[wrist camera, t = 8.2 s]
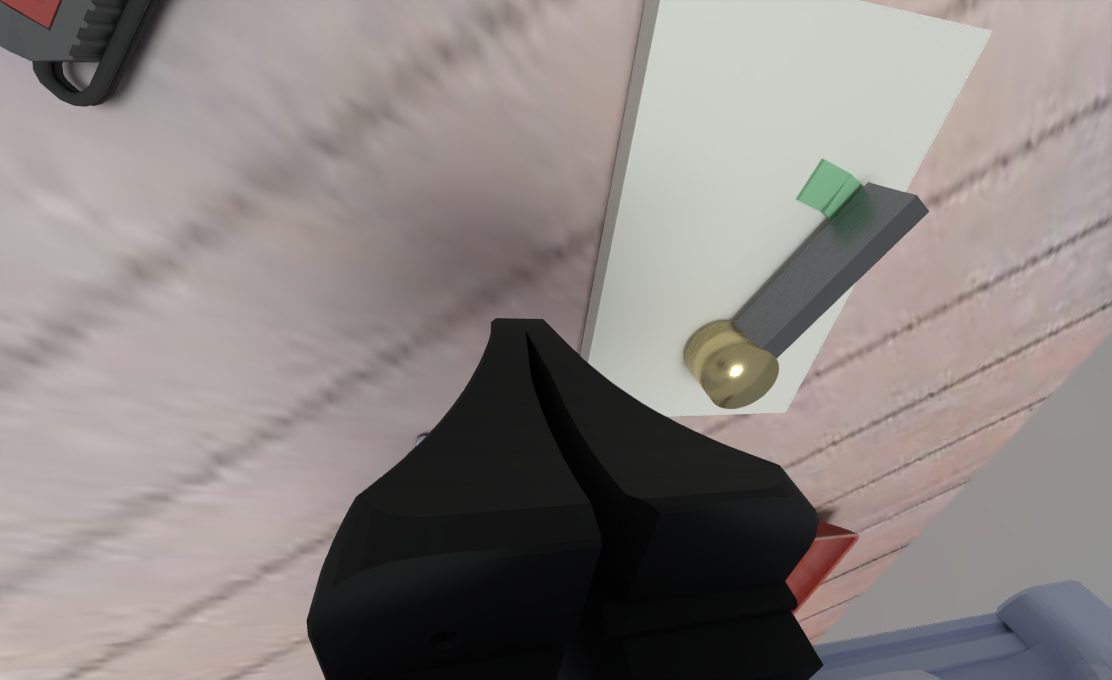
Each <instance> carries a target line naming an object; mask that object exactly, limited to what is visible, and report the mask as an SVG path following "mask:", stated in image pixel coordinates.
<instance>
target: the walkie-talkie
mask: <svg viewBox="0 0 1112 680" xmlns="http://www.w3.org/2000/svg"><path fill="white" fill-rule="evenodd" d="M158 3H159V0H0V46H1V47H3V48H5V49H6V50H8V51H11V52H13V53H15V54H17V55H19V56H21V57H23V58H26V59H28V60H30V61H32V62H33V70H34V72H35V74H36V76H37V77H38V79H39V81H40V83H41V84H43V85H44V86H45V87H46V88H47V89H48V90H50V91H51V92H52V93H53V94H54V95H55V96H56V97H58V98H59V99H60V100H62V101H65V102H67V103H69V104H71V105H75V106H85V107H86V106H90V105H92V106H95V105H99V104H103V103H104V102H105V101H107V100H108V99H109V98H110V97H112V96H113V95H114V94H115V92H116V90H117V88H118V86H119V84H120V82H121V80H122V77H123V75H124V73H125V71H126V69H127V67H128V65H129V63H130V61H131V59H132V57H133V55H134V52H135V50H136V48H137V46H138V44H139V42H140V40H141V38H142V36H143V34H144V32H145V30H146V27H147V25H148V23H149V21H150V19H151V17H152V15H153V13H154V11H155V9H156V7H157V5H158ZM63 62H100V63H99V65H98V68H97V70H96V72H95V74H94V76H93V78H92V81H91V83H90V85H89V86H88V87H87V88H86V89H84V90H83V91H79V90H78V89H77V88H75V87H74V86H73V85H72V84H71V83H70V82H68V81H67V79H66V78H65V76H64V75H63V68H62V63H63Z"/></svg>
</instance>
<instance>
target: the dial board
mask: <svg viewBox="0 0 1112 680" xmlns="http://www.w3.org/2000/svg"><path fill="white" fill-rule="evenodd" d="M992 32H993V31H991V30H987V29H982V28H978V27H974V26H969V25H965V24H960V23H956V22H952V21H947V20H943V19H939V18H934V17H930V16H925V15H921V14H917V13H912V12H908V11H904V10H899V9H895V8H890V7H886V6H882V5H877V4H873V3H869V2H864V1H860V0H645V4H644V10H643V15H642V21H641V26H640V32H639V37H638V42H637V48H636V53H635V59H634V64H633V70H632V75H631V80H630V86H629V91H628V97H627V102H626V108H625V113H624V118H623V124H622V129H621V135H620V140H619V146H618V151H617V156H616V162H615V167H614V173H613V178H612V184H611V189H610V194H609V200H608V205H607V211H606V216H605V222H604V227H603V232H602V238H601V243H600V249H599V254H598V260H597V265H596V270H595V276H594V281H593V287H592V292H591V298H590V303H589V308H588V314H587V319H586V325H585V330H584V336H583V341H582V346H581V352H580V356H581V357H582V358H583V359H584V360H585V361H587V362H588V363H589V364H590V365H591V366H592V367H593V368H595V369H596V370H597V371H598V372H600V373H601V374H602V375H603V376H605V377H606V378H607V379H608V380H610V381H611V382H612V383H614V384H615V385H616V386H618V387H619V388H621V389H622V390H624V391H625V392H627V393H628V394H629V395H631V396H632V397H634V398H635V399H637V400H638V401H640V402H642V403H643V404H645V405H647V406H648V407H650V408H652V409H653V410H655V411H657V412H659V413H661V414H662V415H664V416H666V417H671V416H699V415H726V414H754V413H781V412H786V411H787V409H788V407H789V405H790V403H791V401H792V399H793V398H794V396H795V394H796V392H797V390H798V388H799V387H800V385H801V383H802V381H803V379H804V377H805V376H806V374H807V372H808V370H809V368H810V366H811V365H812V363H813V361H814V359H815V357H816V355H817V353H818V352H819V350H820V348H821V346H822V344H823V342H824V341H825V339H826V337H827V335H828V333H829V331H830V330H831V328H832V326H833V324H834V322H835V320H836V319H837V317H838V315H839V313H840V311H841V309H842V307H843V306H844V304H845V302H846V300H847V298H848V296H849V295H850V293H851V291H852V289H853V287H854V285H855V284H856V283H855V284H854V285H853V286H852V287H851V288H850V289H849V290H847V291H846V292H845V293H844V294H843V295H842V296H841V297H840V298H839V299H838V300H837V301H836V302H835V303H834V304H833V305H832V306H831V307H830V308H829V309H828V310H827V311H826V312H825V313H824V314H823V315H822V316H821V317H820V318H818V319H817V320H816V321H815V322H814V323H813V324H812V325H811V326H810V327H809V328H808V329H807V330H806V331H805V332H804V333H803V334H802V335H801V336H800V337H799V338H798V339H797V340H796V341H795V342H794V343H793V344H792V345H790V346H789V347H788V348H787V349H786V350H785V351H784V352H783V353H782V354H781V355H780V356H779V357H778V358H777V361H778V363H779V373H778V377H777V379H776V381H775V383H774V385H773V386H772V388H771V389H770V390H769V391H768V392H767V393H766V394H765V395H764V396H763V397H761V398H760V399H759V400H757V401H755V402H754V403H752V404H750V405H747V406H745V407H742V408H737V409H724V408H721V407H718V406H717V405H715V404H714V403H713V402H712V400H711V399H710V398H709V396H708V395H707V394H706V392H705V391H704V390H703V388H702V387H701V386H700V384H699V383H698V382H697V380H696V379H695V378H694V376H693V375H692V374H691V372H690V371H689V370H688V368H687V366H686V364H685V353H686V350H687V347H688V345H689V344H690V342H691V341H692V339H693V338H694V337H695V336H696V335H697V334H698V333H699V332H700V331H702V330H703V329H705V328H706V327H708V326H710V325H712V324H715V323H719V322H726V321H727V322H736V321H737V320H738V319H739V318H740V317H741V316H742V315H743V314H744V313H745V312H746V311H747V310H748V309H749V307H750V306H751V305H752V304H753V303H754V302H755V301H756V300H757V299H758V298H759V297H760V296H761V295H762V294H763V293H764V292H765V291H766V290H767V288H768V287H769V286H770V285H771V284H772V283H773V282H774V281H775V280H776V279H777V278H778V277H779V276H780V275H781V274H782V273H783V272H784V270H785V269H786V268H787V267H788V266H789V265H790V264H791V263H792V262H793V261H794V260H795V259H796V258H797V257H798V256H799V255H800V254H801V253H802V251H803V250H804V249H805V248H806V247H807V246H808V245H809V244H810V243H811V242H812V241H813V240H814V239H815V238H816V237H817V236H818V235H819V234H820V232H821V231H822V230H823V229H824V228H825V227H826V226H827V225H828V224H829V223H830V222H831V221H832V220H833V219H834V218H835V217H836V216H837V214H838V213H839V212H840V211H841V210H842V209H843V208H844V207H845V206H846V205H847V204H848V203H849V202H850V201H851V200H852V199H853V198H854V197H855V195H856V194H857V193H858V192H859V191H860V190H861V189H862V188H863V187H864V186H865V185H866V184H867V183H868V182H869V183H873V184H877V185H880V186H884V187H888V188H892V189H895V190H899V191H903V192H906V190H907V188H908V186H909V184H910V182H911V181H912V179H913V177H914V175H915V173H916V171H917V170H918V168H919V166H920V164H921V162H922V160H923V158H924V157H925V155H926V153H927V151H928V149H929V147H930V146H931V144H932V142H933V140H934V138H935V136H936V135H937V133H938V131H939V129H940V127H941V125H942V124H943V122H944V120H945V118H946V116H947V114H948V112H949V111H950V109H951V107H952V105H953V103H954V101H955V100H956V98H957V96H958V94H959V92H960V90H961V89H962V87H963V85H964V83H965V81H966V79H967V78H968V76H969V74H970V72H971V70H972V68H973V66H974V65H975V63H976V61H977V59H978V57H979V55H980V54H981V52H982V50H983V48H984V46H985V44H986V43H987V41H988V39H989V37H990V35H991V33H992Z"/></svg>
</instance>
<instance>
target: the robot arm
mask: <svg viewBox="0 0 1112 680" xmlns="http://www.w3.org/2000/svg"><path fill="white" fill-rule="evenodd" d="M818 523H819V519H818V516H817V513H816V510H815V509H814V507H813V506H812V505H811V504H810V502H809V501H808V500H807V499H806V497H805V496H804V495H803V494H802V492H801V491H800V490H799V489H798V487H797V486H796V485H795V484H794V482H793V481H792V480H791V479H790V477H789V476H788V475H787V474H786V472H785V471H784V470H783V469H782V468H781V466H780V465H778V464H775V463H772V462H770V461H767V460H764V459H762V458H759V457H756V456H754V455H751V454H748V453H745V452H743V451H740V450H737V449H735V448H732V447H729V446H727V445H724V444H722V443H720V442H717V441H715V440H713V439H711V438H709V437H706V436H704V435H702V434H700V433H697V432H695V431H693V430H691V429H689V428H687V427H685V426H683V425H681V424H679V423H677V422H675V421H673V420H671V419H670V418H668V417H666V416H664V415H662V414H661V413H659V412H657V411H655V410H653V409H652V408H650V407H648V406H647V405H645V404H643V403H642V402H640V401H638V400H637V399H635V398H634V397H632V396H631V395H629V394H628V393H627V392H625V391H624V390H622V389H621V388H619V387H618V386H616V385H615V384H614V383H612V382H611V381H610V380H608V379H607V378H606V377H605V376H603V375H602V374H601V373H600V372H598V371H597V370H596V369H595V368H593V367H592V366H591V365H590V364H589V363H588V362H587V361H585V360H584V359H583V358H582V357H581V356H580V355H579V354H578V353H577V352H576V351H575V350H573V349H572V348H571V347H570V346H569V345H568V344H567V343H566V342H565V341H564V340H563V339H562V338H561V337H560V336H559V335H558V334H557V333H556V332H555V331H554V330H553V329H552V328H551V327H550V325H549V324H548V323H547V322H546V321H544V320H543V319H510V318H496V319H494V320H493V321H492V322H491V334H490V338H489V341H488V344H487V347H486V349H485V351H484V354H483V356H482V359H481V361H480V363H479V365H478V367H477V368H476V370H475V372H474V374H473V376H472V378H471V379H470V381H469V383H468V384H467V386H466V387H465V389H464V391H463V392H462V394H461V395H460V396H459V398H458V399H457V401H456V402H455V403H454V405H453V406H452V407H451V409H450V410H449V411H448V412H447V413H446V415H445V416H444V417H443V418H442V420H441V421H440V422H439V423H438V424H437V425H436V426H435V428H434V429H433V430H432V431H431V432H430V433H429V434H428V435H427V436H422V437H420V438H418V439H417V441H416V447H415V448H414V449H413V450H412V451H411V452H410V453H409V454H408V455H407V456H406V457H404V458H403V459H402V460H401V461H400V462H399V463H398V464H397V465H395V466H394V467H393V468H392V469H391V470H389V471H388V472H387V473H386V474H384V475H383V476H382V477H381V478H379V479H378V480H377V481H376V482H374V483H373V484H372V485H371V486H369V487H368V488H367V489H366V490H364V491H363V492H362V493H361V494H359V495H358V496H357V497H356V498H355V499H354V501H353V503H352V505H351V507H350V508H349V510H348V512H347V514H346V516H345V518H344V520H343V522H342V523H341V526H340V528H339V530H338V532H337V534H336V536H335V538H334V540H333V542H332V545H331V547H330V550H329V552H328V554H327V557H326V559H325V561H324V564H323V567H322V570H321V572H320V576H319V579H318V583H317V586H316V590H315V593H314V597H313V600H312V604H311V607H310V610H309V614H308V617H307V630H308V637H309V639H310V642H311V644H312V647H313V649H314V652H315V655H316V657H317V660H318V662H319V665H320V667H321V670H322V672H323V675H324V677H325V680H1112V609H1111V608H1110V607H1109V606H1108V605H1106V604H1105V603H1104V602H1103V601H1102V600H1100V599H1099V598H1098V597H1097V596H1096V595H1095V594H1093V593H1092V592H1091V591H1090V590H1089V589H1087V588H1086V587H1085V586H1084V585H1082V584H1081V583H1080V582H1078V581H1073V580H1068V581H1062V582H1056V583H1051V584H1044V585H1039V586H1034V587H1030V588H1027V589H1025V590H1023V591H1020V592H1018V593H1016V594H1015V595H1013V596H1012V597H1010V598H1009V599H1007V600H1006V601H1005V602H1003V603H1002V604H1001V605H1000V606H999V607H998V608H997V612H993V613H988V614H982V615H977V616H971V617H966V618H960V619H955V620H950V621H944V622H939V623H933V624H928V625H922V626H917V627H911V628H906V629H901V630H895V631H890V632H884V633H879V634H874V635H868V636H863V637H857V638H851V639H846V640H841V641H835V642H830V643H824V644H819V645H813V646H812V645H811V643H810V641H809V640H808V638H807V636H806V635H805V633H804V631H803V630H802V628H801V627H800V625H799V623H798V622H797V620H796V618H795V617H794V615H793V613H792V612H791V611H794V610H795V609H796V608H797V607H798V603H797V599H796V597H795V596H794V594H793V593H792V591H791V590H790V588H789V586H788V585H787V583H786V582H785V581H786V579H787V578H788V577H789V575H790V574H791V573H792V571H793V570H794V569H795V567H796V566H797V565H798V563H799V562H800V561H801V559H802V558H803V557H804V555H805V554H806V553H807V551H808V550H809V549H810V547H811V545H812V543H813V542H814V540H815V538H816V534H817V529H818Z"/></svg>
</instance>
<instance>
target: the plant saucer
mask: <svg viewBox="0 0 1112 680" xmlns="http://www.w3.org/2000/svg"><path fill="white" fill-rule="evenodd" d="M858 539H859V535H858V534H857V533H854V532H852V531H849V530H847V529H844V528H841V527H838V526H835V525H831V524H828V523H824V522H820V521H819V523H818V529H817V534H816V538H815V540H814V542H813V543H812V545H811V547H810V549H809V550H808V551H807V553H806V554H805V555H804V557H803V558H802V559H801V561H800V562H799V563H798V565H797V566H796V567H795V569H794V570H793V571H792V573H791V574H790V575H789V577H788V578H787V579H786V581H785V582H786V583H787V585H788V586H789V588H790V590H791V591H792V593H793V594H794V596H795V597H796V599H797V603H798V607H797V608H796V609H795V610H794V611H791V612H792V613H793V615H794V614H795V613H796V612H797V611H798V610H799V609H800V608H801V606H802V605H803V604H804V603H805V602H806V601H807V600H808V599H809V597H810V596H811V595H812V594H813V593H814V591H815V590H816V589H817V588H818V587H819V586H820V584H821V583H822V582H823V581H824V580H825V579H826V577H827V576H828V575H829V574H830V573H831V572H832V570H833V569H834V568H835V567H836V566H837V565H838V563H839V562H840V561H841V560H842V559H843V557H844V556H845V555H846V554H847V553H848V552H849V550H850V549H851V548H852V547H853V546H854V544H855V543H856V542H857V541H858Z"/></svg>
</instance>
